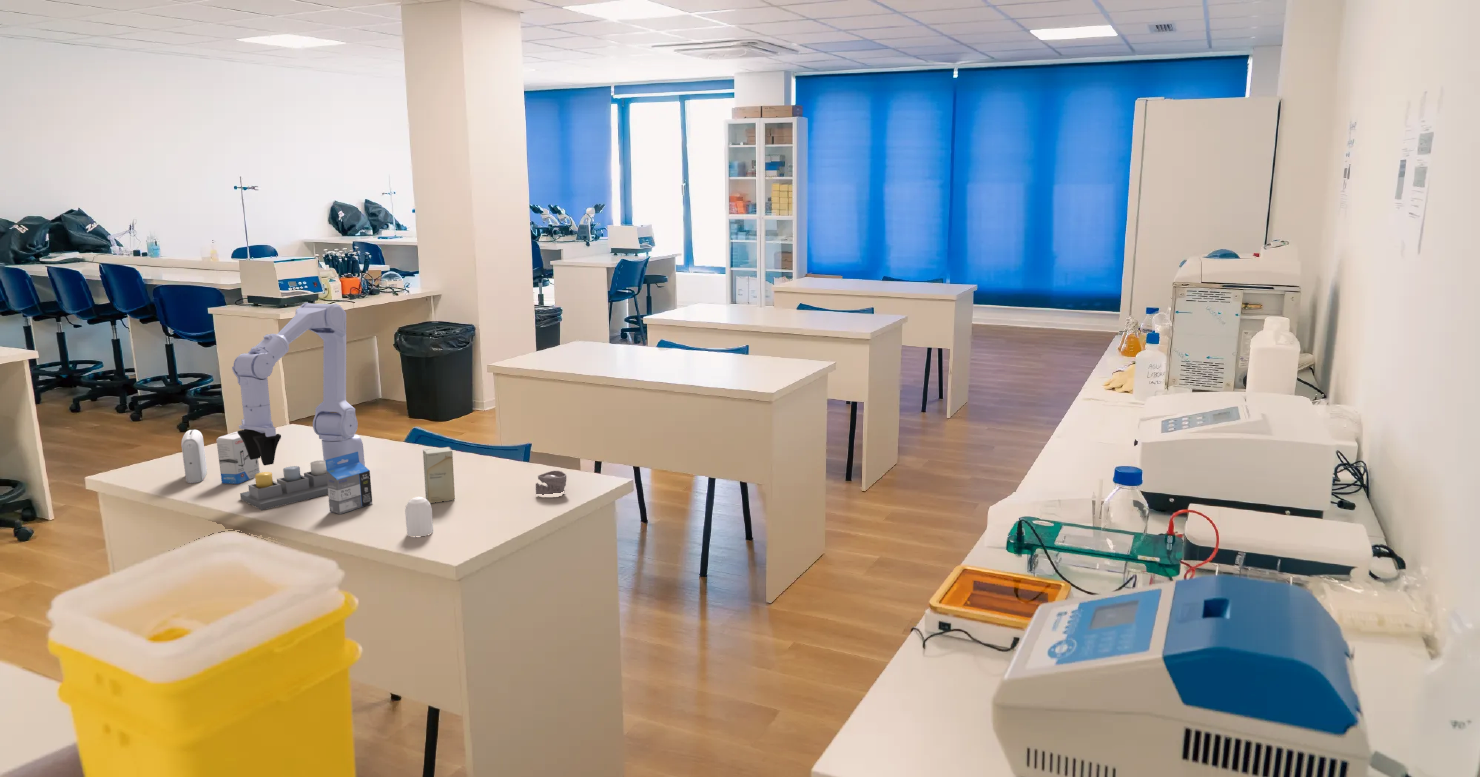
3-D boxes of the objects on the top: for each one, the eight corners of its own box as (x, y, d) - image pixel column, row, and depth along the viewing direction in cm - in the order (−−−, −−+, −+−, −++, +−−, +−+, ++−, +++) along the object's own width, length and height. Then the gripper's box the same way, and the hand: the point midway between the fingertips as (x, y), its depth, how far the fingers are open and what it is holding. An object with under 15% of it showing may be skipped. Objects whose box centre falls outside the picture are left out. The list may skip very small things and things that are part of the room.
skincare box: (428, 504, 222) (424, 454, 220) (425, 498, 226) (421, 449, 223) (456, 500, 225) (452, 450, 222) (452, 494, 229) (449, 446, 226)
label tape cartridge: (339, 515, 215) (334, 462, 212) (329, 512, 217) (324, 460, 214) (373, 504, 222) (368, 453, 220) (362, 501, 224) (358, 450, 222)
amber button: (269, 482, 226) (268, 471, 226) (275, 485, 224) (274, 474, 224) (253, 485, 224) (252, 474, 223) (259, 488, 222) (258, 477, 221)
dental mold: (547, 501, 224) (546, 481, 223) (530, 495, 228) (529, 475, 227) (575, 493, 230) (574, 473, 229) (557, 487, 234) (556, 468, 233)
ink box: (237, 484, 237) (232, 439, 235) (220, 483, 238) (215, 438, 236) (261, 474, 246) (256, 430, 243) (244, 473, 247) (239, 429, 244)
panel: (323, 480, 241) (322, 465, 240) (346, 490, 233) (344, 474, 232) (240, 499, 226) (238, 483, 225) (261, 510, 218) (259, 493, 217)
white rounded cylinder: (437, 528, 206) (434, 493, 204) (427, 537, 201) (425, 501, 199) (412, 528, 206) (410, 493, 204) (403, 537, 201) (400, 501, 199)
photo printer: (204, 482, 240) (198, 434, 237) (184, 484, 238) (178, 436, 236) (208, 471, 249) (203, 425, 247) (190, 473, 247) (184, 427, 245)
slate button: (296, 476, 231) (295, 465, 231) (303, 479, 229) (302, 468, 228) (281, 479, 229) (280, 468, 228) (288, 482, 226) (287, 471, 226)
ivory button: (323, 470, 236) (322, 459, 235) (330, 473, 234) (328, 462, 233) (308, 473, 233) (307, 462, 233) (315, 476, 231) (314, 465, 230)
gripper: (225, 403, 222) (231, 459, 225) (250, 411, 213) (256, 470, 215) (257, 398, 227) (262, 453, 230) (282, 407, 218) (288, 464, 220)
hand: (261, 461), depth 223 cm, fingers open, 7 cm apart
